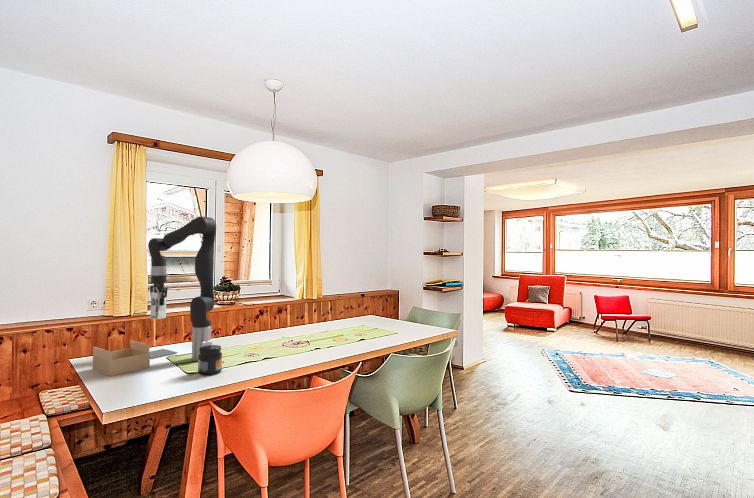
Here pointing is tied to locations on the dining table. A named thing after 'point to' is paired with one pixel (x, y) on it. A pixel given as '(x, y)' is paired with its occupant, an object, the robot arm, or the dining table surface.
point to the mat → (160, 353)
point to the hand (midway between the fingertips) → (158, 304)
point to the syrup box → (157, 307)
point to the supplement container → (209, 360)
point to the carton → (121, 359)
